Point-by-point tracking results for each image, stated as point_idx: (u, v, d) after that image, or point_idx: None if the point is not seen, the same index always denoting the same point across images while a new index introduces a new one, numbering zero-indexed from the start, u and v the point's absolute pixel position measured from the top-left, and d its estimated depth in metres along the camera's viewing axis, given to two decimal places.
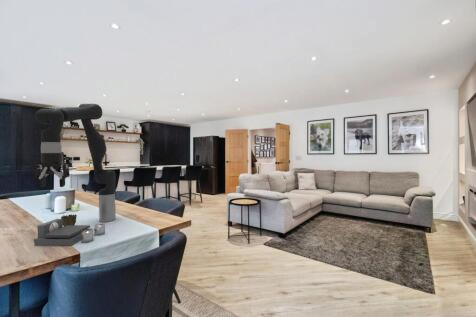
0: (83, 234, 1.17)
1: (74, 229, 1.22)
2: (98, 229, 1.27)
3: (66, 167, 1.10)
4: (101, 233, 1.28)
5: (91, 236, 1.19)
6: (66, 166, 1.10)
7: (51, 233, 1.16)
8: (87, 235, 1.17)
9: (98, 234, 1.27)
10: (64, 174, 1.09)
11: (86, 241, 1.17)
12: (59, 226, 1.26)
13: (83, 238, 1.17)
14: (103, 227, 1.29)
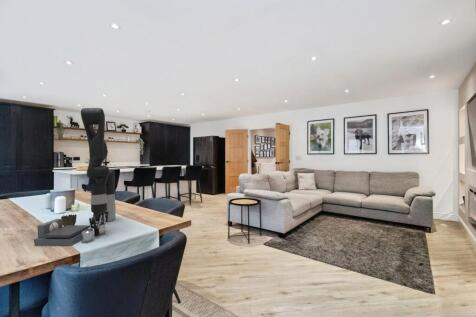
0: (83, 234, 1.17)
1: (74, 229, 1.22)
2: None
3: None
4: (101, 233, 1.28)
5: (91, 236, 1.19)
6: None
7: (51, 233, 1.16)
8: (87, 235, 1.17)
9: None
10: (107, 219, 1.34)
11: (86, 241, 1.17)
12: (59, 226, 1.26)
13: (83, 238, 1.17)
14: (103, 227, 1.29)
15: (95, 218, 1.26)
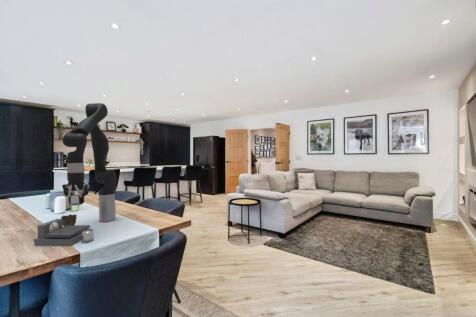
0: (83, 234, 1.17)
1: (74, 229, 1.22)
2: None
3: None
4: None
5: (91, 236, 1.19)
6: None
7: (51, 233, 1.16)
8: (87, 235, 1.17)
9: None
10: None
11: (86, 241, 1.17)
12: (59, 226, 1.26)
13: (83, 238, 1.17)
14: None
15: None
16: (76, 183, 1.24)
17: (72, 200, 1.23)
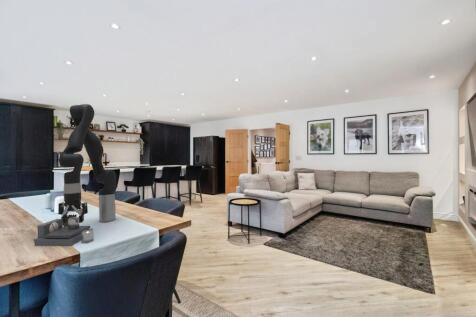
0: (83, 234, 1.17)
1: (74, 229, 1.22)
2: (78, 220, 1.26)
3: None
4: None
5: (91, 236, 1.19)
6: None
7: (51, 233, 1.16)
8: (87, 235, 1.17)
9: None
10: None
11: (86, 241, 1.17)
12: (59, 226, 1.26)
13: (83, 238, 1.17)
14: None
15: None
16: (73, 203, 1.24)
17: (69, 224, 1.23)
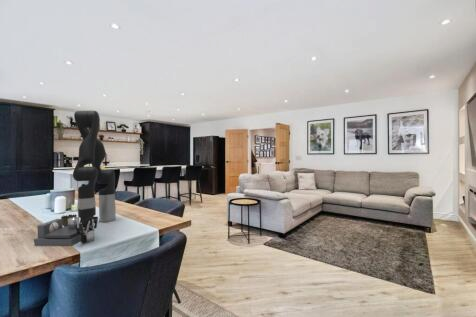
0: None
1: (74, 229, 1.22)
2: None
3: None
4: None
5: (91, 236, 1.19)
6: None
7: (51, 233, 1.16)
8: (87, 235, 1.17)
9: None
10: (96, 225, 1.24)
11: None
12: (59, 226, 1.26)
13: None
14: None
15: (82, 224, 1.16)
16: None
17: (69, 224, 1.23)
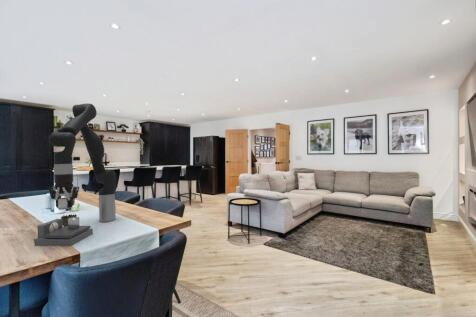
0: None
1: (74, 229, 1.22)
2: None
3: None
4: None
5: None
6: None
7: (51, 233, 1.16)
8: None
9: None
10: None
11: None
12: (59, 226, 1.26)
13: None
14: None
15: (69, 189, 1.17)
16: (64, 185, 1.16)
17: (70, 223, 1.23)
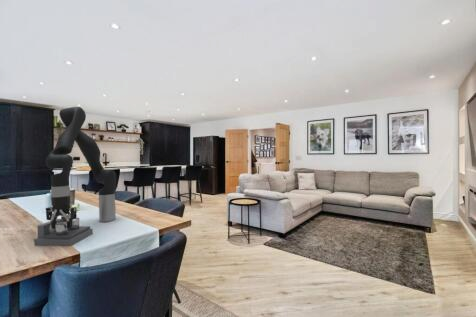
0: (65, 225, 1.17)
1: (74, 230, 1.22)
2: None
3: None
4: None
5: None
6: None
7: (51, 234, 1.16)
8: None
9: None
10: None
11: (67, 231, 1.18)
12: None
13: (65, 229, 1.17)
14: None
15: None
16: (61, 207, 1.16)
17: None
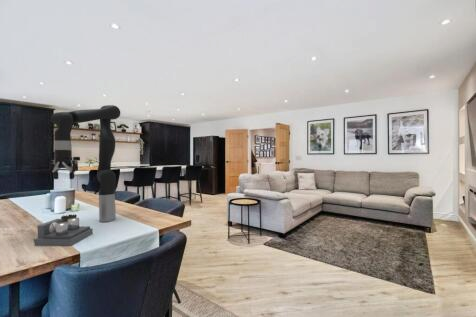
0: (66, 225, 1.17)
1: (74, 230, 1.22)
2: None
3: None
4: None
5: None
6: None
7: (51, 234, 1.16)
8: (67, 225, 1.19)
9: None
10: None
11: (67, 231, 1.19)
12: None
13: (66, 229, 1.17)
14: None
15: None
16: (63, 160, 1.28)
17: (71, 224, 1.23)
